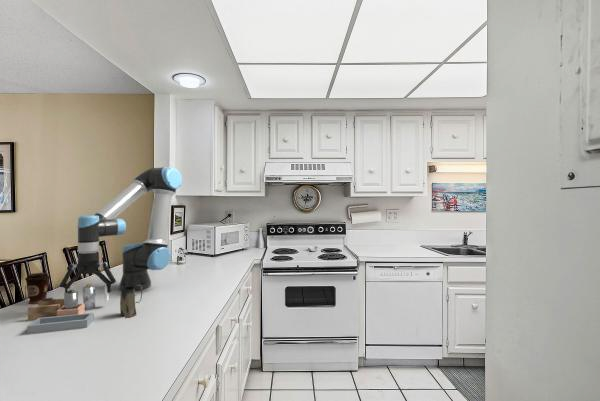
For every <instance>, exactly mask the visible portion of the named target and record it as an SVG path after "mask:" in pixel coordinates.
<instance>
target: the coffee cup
mask: <svg viewBox="0 0 600 401" xmlns="http://www.w3.org/2000/svg"><path fill="white" fill-rule="evenodd" d="M49 279H50V275H49V274H48V272H36V273H29V274H27V276H26V278H25V279H24V280H25V281H26V291H27V297H28V299H29V300H28V304H30V305H31V304H33V305H34V304H38V301H40V300H42V299H44V298H47V294H48V287H49V286H48V285H49V284H48V283H49Z"/></svg>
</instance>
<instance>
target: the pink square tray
mask: <svg viewBox="0 0 600 401" xmlns="http://www.w3.org/2000/svg"><path fill="white" fill-rule="evenodd" d="M85 313H86V310H85V303H83V302H82V303H78V308H77V309H67V310H64V306H63V307H61V308H60V309H59V310H57V316H65V315H75V314H85Z"/></svg>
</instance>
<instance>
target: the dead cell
mask: <svg viewBox="0 0 600 401" xmlns="http://www.w3.org/2000/svg"><path fill="white" fill-rule="evenodd" d="M63 299H64V310H67V309H77V308H78V304H79V291H78V290H75V289H72V290H69V291H68V292H66V293H65V292H64V293H63Z"/></svg>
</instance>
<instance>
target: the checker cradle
mask: <svg viewBox="0 0 600 401" xmlns="http://www.w3.org/2000/svg"><path fill="white" fill-rule="evenodd" d="M63 306H64V298H55V299H54V298H53V297H46V298H44V299H42V300H40V301H38V303H37V305H36V306H35V305H34V306H32V305H31V306H29V307H27V319H26V320H25V321H26V322H34V321H35V320H36V319H38V318H44V317H54V316H57V310H59V309H60V308H61V307H63Z"/></svg>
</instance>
